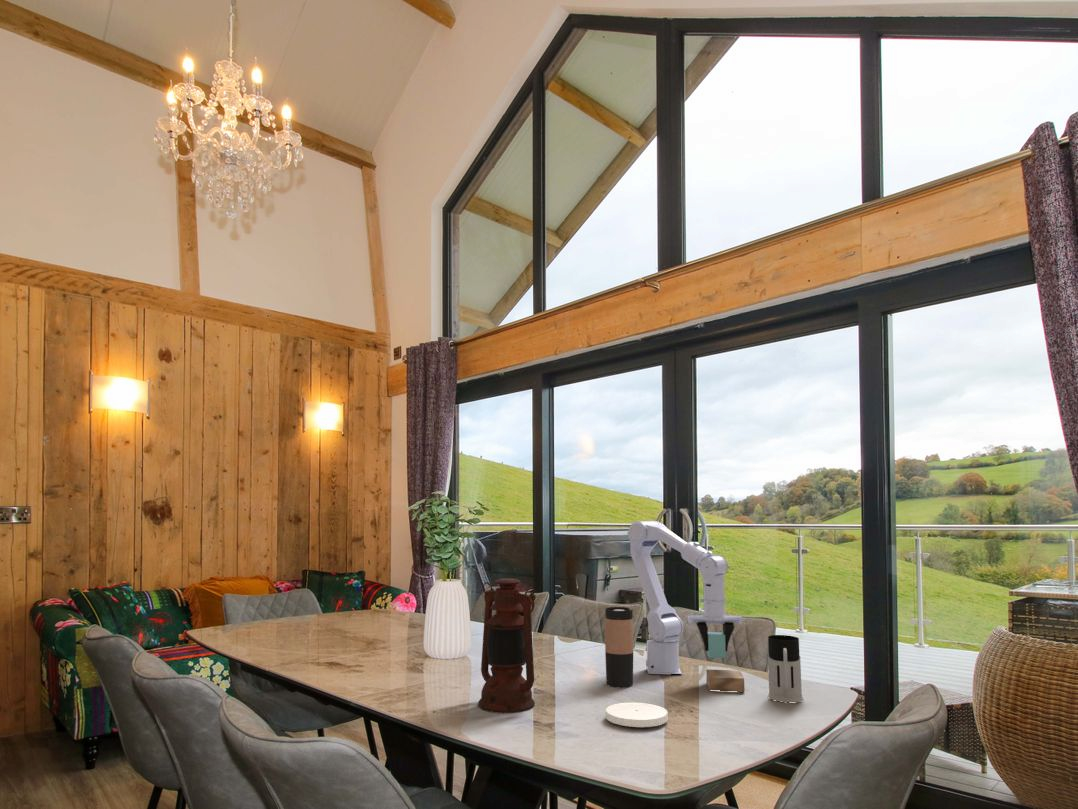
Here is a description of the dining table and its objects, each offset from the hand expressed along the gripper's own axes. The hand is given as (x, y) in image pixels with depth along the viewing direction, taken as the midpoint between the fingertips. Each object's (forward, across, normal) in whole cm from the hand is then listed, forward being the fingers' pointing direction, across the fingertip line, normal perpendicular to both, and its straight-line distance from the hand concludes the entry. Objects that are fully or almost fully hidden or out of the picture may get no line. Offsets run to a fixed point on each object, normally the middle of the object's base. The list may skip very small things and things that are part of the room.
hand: (715, 650), depth 205 cm
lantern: (+9, -55, -27) cm, 62 cm away
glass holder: (+9, +14, -18) cm, 24 cm away
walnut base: (+9, +1, -6) cm, 11 cm away
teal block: (+2, 0, 0) cm, 2 cm away
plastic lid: (+9, -24, -38) cm, 45 cm away
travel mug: (+9, -27, -4) cm, 28 cm away
